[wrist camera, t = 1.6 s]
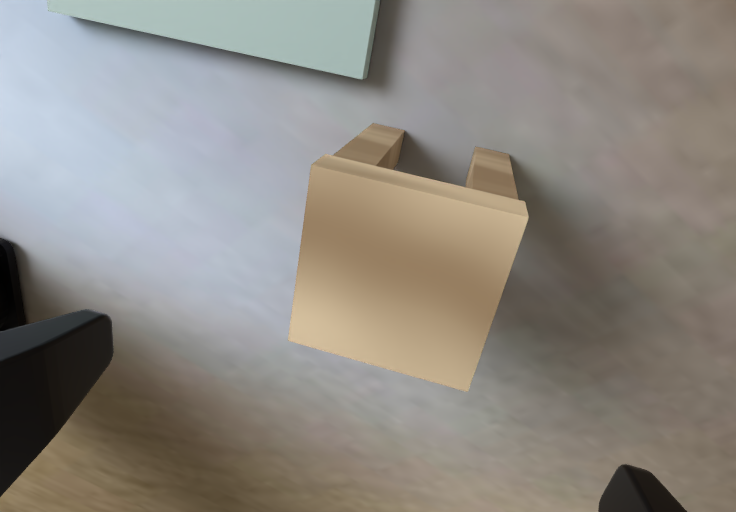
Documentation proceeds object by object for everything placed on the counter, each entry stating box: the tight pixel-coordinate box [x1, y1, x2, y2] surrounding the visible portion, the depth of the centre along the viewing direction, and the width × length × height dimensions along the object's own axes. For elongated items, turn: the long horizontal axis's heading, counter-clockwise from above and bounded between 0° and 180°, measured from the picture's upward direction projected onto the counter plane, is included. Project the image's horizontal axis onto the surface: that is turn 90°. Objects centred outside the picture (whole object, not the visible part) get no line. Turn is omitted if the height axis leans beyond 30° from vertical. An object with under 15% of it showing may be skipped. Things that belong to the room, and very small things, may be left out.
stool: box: [288, 123, 529, 392], centre depth 16 cm, size 5×5×7 cm
